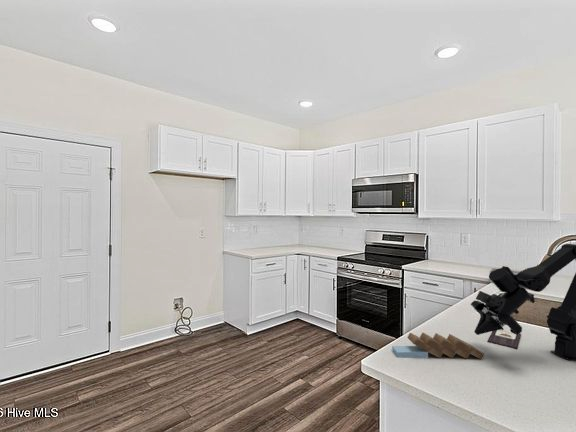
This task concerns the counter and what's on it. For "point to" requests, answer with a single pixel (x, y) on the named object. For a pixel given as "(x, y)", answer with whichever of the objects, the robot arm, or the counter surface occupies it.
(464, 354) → the domino
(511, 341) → the chocolate bar
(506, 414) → the counter surface
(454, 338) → the domino
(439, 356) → the domino
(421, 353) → the domino
